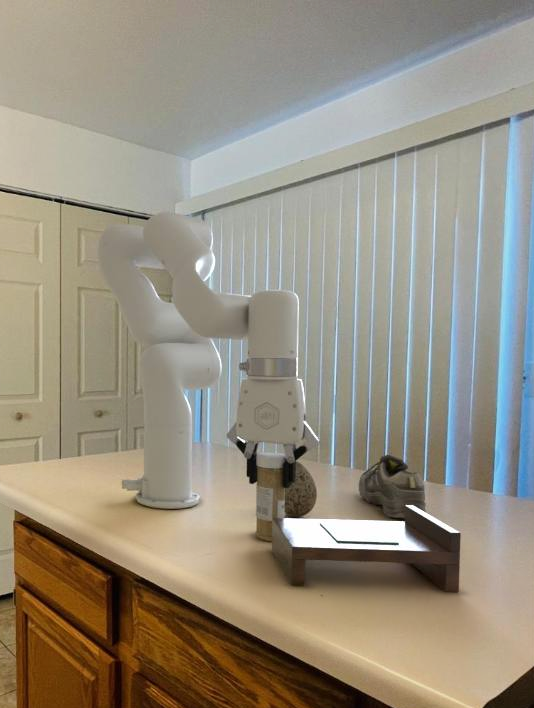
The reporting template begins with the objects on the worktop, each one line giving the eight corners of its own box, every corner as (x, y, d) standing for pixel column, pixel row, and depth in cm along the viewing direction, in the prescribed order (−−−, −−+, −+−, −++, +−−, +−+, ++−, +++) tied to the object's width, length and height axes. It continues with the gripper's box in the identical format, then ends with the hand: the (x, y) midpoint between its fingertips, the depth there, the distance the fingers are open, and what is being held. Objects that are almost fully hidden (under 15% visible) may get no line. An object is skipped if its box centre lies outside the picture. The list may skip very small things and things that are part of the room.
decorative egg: (307, 524, 90) (308, 467, 89) (268, 516, 94) (268, 462, 94) (321, 515, 95) (323, 461, 95) (283, 508, 100) (284, 456, 99)
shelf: (291, 585, 66) (292, 527, 65) (271, 550, 78) (272, 501, 77) (459, 592, 64) (461, 532, 64) (411, 555, 76) (413, 505, 76)
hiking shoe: (400, 482, 111) (374, 434, 110) (453, 524, 90) (422, 465, 89) (359, 502, 112) (333, 455, 111) (403, 547, 92) (371, 489, 91)
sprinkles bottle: (290, 541, 82) (292, 456, 81) (263, 543, 81) (265, 457, 80) (274, 531, 86) (276, 450, 86) (249, 533, 85) (251, 452, 85)
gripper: (212, 369, 84) (211, 482, 85) (324, 371, 75) (322, 497, 75) (228, 369, 90) (227, 473, 91) (334, 370, 81) (331, 486, 82)
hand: (270, 483), depth 83 cm, fingers closed on sprinkles bottle, 4 cm apart
